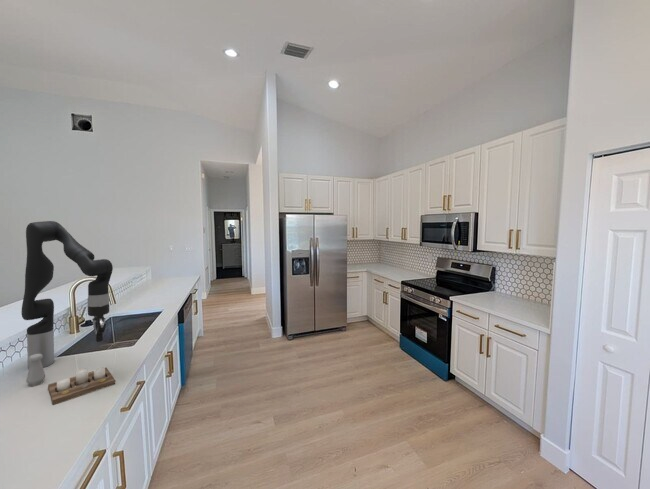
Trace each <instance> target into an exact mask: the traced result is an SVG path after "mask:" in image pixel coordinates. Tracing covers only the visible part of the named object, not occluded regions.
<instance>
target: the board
mask: <svg viewBox="0 0 650 489" xmlns="http://www.w3.org/2000/svg"><path fill="white" fill-rule="evenodd" d="M104 368H105V378H101V379H98V380H95V381H94V370H93V371H90V372H89V371H88V381H87V382H86V383H83V384H76V375H75V376H73V377H69V378H70V389H67V390H63V391H60V392H57V381H55V382H52V383H48V384H47V389H48V393H49V396H50V400H51V404H52V406H54V405H57V404H60V403H62V402H63V403H64V402H66V401H69V400H71V399H75V398H78V397H81V396H83V395H87V394H90V393H92V392H96V391H99V390H102V389H104V388H107V387H110V386H113V385H115V384H116V378H115V377H114V376H113V375H112V373H111V372H110V370H109V369H108V368H107V367H104Z"/></svg>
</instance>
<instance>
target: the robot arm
mask: <svg viewBox="0 0 650 489" xmlns="http://www.w3.org/2000/svg"><path fill="white" fill-rule="evenodd" d="M25 238H26V239H25V241H26V264H25V273H24V294H23V299H22V305H21V317H22V319H23V320H24V321H33V320H39V319H40V321H38V322H36V323H34V324H32V325H29V326H28V327H26V328H27V329H26V344H27V346H26V347H27V348H26V349H27V369H29V367H30V362H29V361H28V359H29V357H30V356H31V355H34V354H42V356H43V357H42V359H41V363H42V366H43V368H46V367H49V366H51V365H53V364H55V338H54V337H55V336H54V333H55V332H54V323H55V322H54V321H55V320H54V319H55V318H54V315H55V314H54V313H55V302H54V301H53V299H51V298H43V299H42V298H41V299H37V300H36V298H37V296H38V295H39V294H40V293H41V291H43V290H44V289H45V288H46V287H47V286H48V285H49V284H50V283H51V281H52V280H53V279H54V278H53V277H54V271H55V270H54V268H55V266H54V263H53V262H52V260H50V258H49V257H48V256H47V255H46V254H45V253H44V251H43V243H45V242H52V241H53V242H54V241H57V242H58V241H59V242H60V243H62V244H63V253H64V255H65V256H66V257H68V259H70V260H71V261H72V262H74V263H75V264H76V265H77V266H78V268H79V269H80V270H81V272H82V273H83V274H84V275H86V276H88V277H95V279H94V280H92V281H90V282H88V285H87V315H88V316H89V317H93V318H92V319H91V321H92V325H93V326H92V327H93V331H94V334H95V341H96V342H97V343H99V342H102V341H103V340H104V339H103V335H104V333H105V330H106V327H107V326H106V325H107V324H106V317H104V316H105V315H107V314H109V313H110V295H109V285H110V284H109V283H110V281H111V277H112V273H113V271H114V270H113V269H114V268H113V267H114V266H113V263H112V262H111V261H110V260H109V259H105V258H102V259H95V255H94V253H93V252H92V251H90V250H89V249H88V248H86V247H85V246H83V245H82V244H80V243H79V242H78V241H77V240H76V239H75V238H74V237H73V235H71V234H70V232H68V230H67V229H66V228H64V226H63V225H62V224H60V223H59V222H57V221H55V220H46V221H45V220H43V221H36V222H35V221H34V222H29V223H28V224H27V225H26V229H25Z"/></svg>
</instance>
